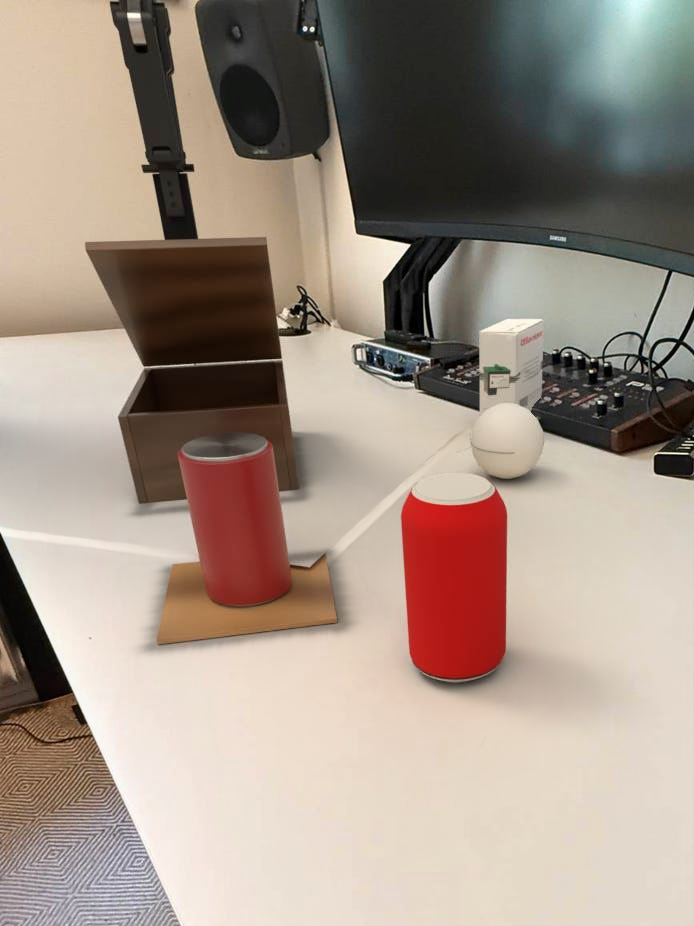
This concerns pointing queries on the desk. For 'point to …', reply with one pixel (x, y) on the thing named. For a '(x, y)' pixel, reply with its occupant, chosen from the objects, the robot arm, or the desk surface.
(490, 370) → the ink box
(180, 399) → the chest
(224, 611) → the mat
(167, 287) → the lid
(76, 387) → the desk surface
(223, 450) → the can
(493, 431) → the white ball
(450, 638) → the beverage can
